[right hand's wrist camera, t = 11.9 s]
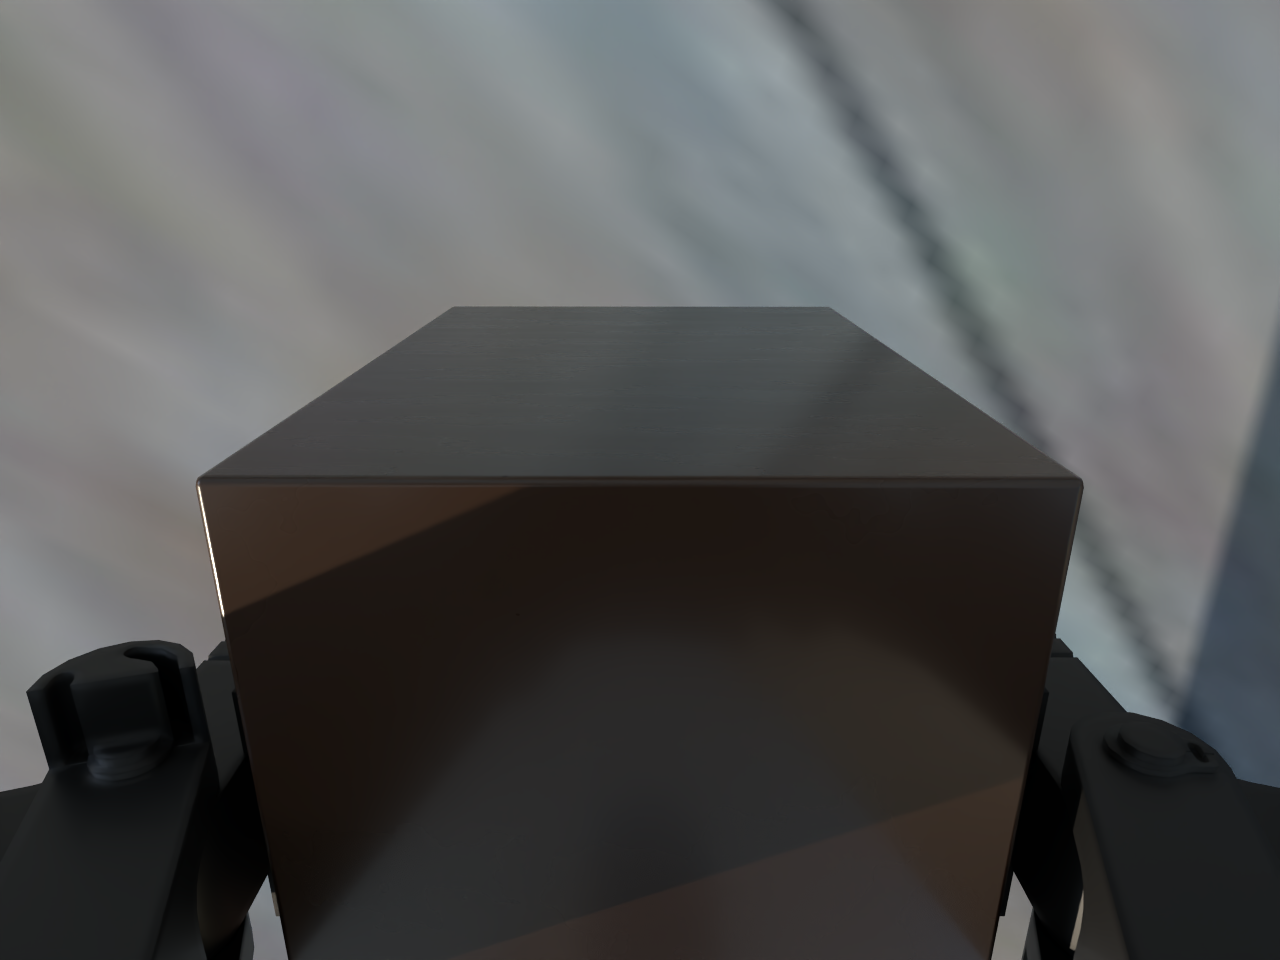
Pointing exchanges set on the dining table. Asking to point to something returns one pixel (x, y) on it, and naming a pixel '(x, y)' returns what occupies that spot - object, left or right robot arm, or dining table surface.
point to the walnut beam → (639, 642)
